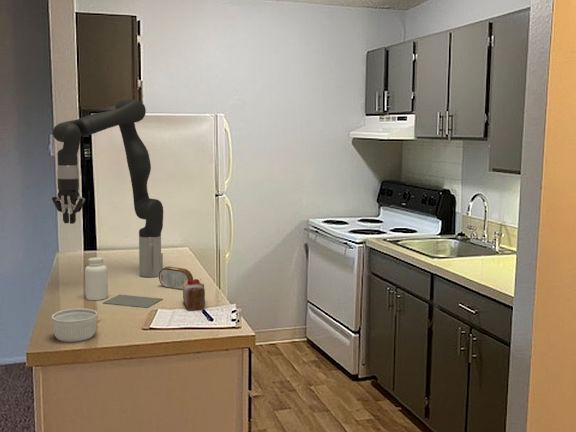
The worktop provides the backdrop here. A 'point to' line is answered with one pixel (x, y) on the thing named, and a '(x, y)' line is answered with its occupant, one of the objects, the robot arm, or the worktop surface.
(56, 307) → the worktop surface
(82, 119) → the robot arm
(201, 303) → the food item
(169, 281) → the tin
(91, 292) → the pill bottle
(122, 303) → the mat
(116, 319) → the worktop surface
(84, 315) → the ramekin
